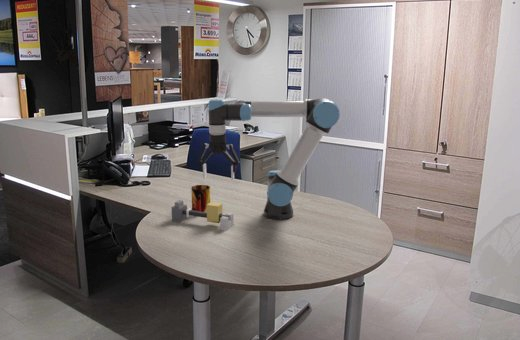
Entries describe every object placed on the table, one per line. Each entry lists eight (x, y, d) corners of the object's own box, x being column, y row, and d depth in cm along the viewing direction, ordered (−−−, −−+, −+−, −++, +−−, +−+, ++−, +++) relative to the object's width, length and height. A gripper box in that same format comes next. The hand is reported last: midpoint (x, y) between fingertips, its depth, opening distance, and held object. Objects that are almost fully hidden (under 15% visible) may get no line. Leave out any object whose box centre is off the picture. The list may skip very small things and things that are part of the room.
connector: (187, 218, 224) (186, 200, 222) (180, 222, 219) (180, 203, 217) (178, 216, 226) (177, 199, 224) (172, 220, 221) (171, 202, 218)
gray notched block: (233, 224, 216) (233, 213, 215) (226, 230, 209) (225, 218, 207) (228, 223, 217) (228, 212, 216) (220, 229, 210) (220, 218, 208)
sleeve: (222, 220, 216) (222, 203, 214) (218, 223, 212) (218, 206, 210) (211, 218, 218) (211, 202, 216) (207, 221, 214) (206, 204, 212)
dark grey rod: (229, 220, 214) (229, 213, 213) (226, 223, 211) (226, 216, 210) (178, 212, 224) (178, 206, 223) (174, 215, 221) (174, 208, 220)
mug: (199, 215, 228) (198, 193, 225) (189, 207, 240) (188, 186, 237) (216, 212, 233) (216, 190, 230) (206, 205, 245) (205, 183, 242)
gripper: (245, 132, 208) (246, 177, 214) (194, 131, 213) (196, 175, 218) (242, 135, 201) (242, 181, 207) (188, 134, 206) (190, 179, 211)
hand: (218, 178), depth 212 cm, fingers open, 13 cm apart
